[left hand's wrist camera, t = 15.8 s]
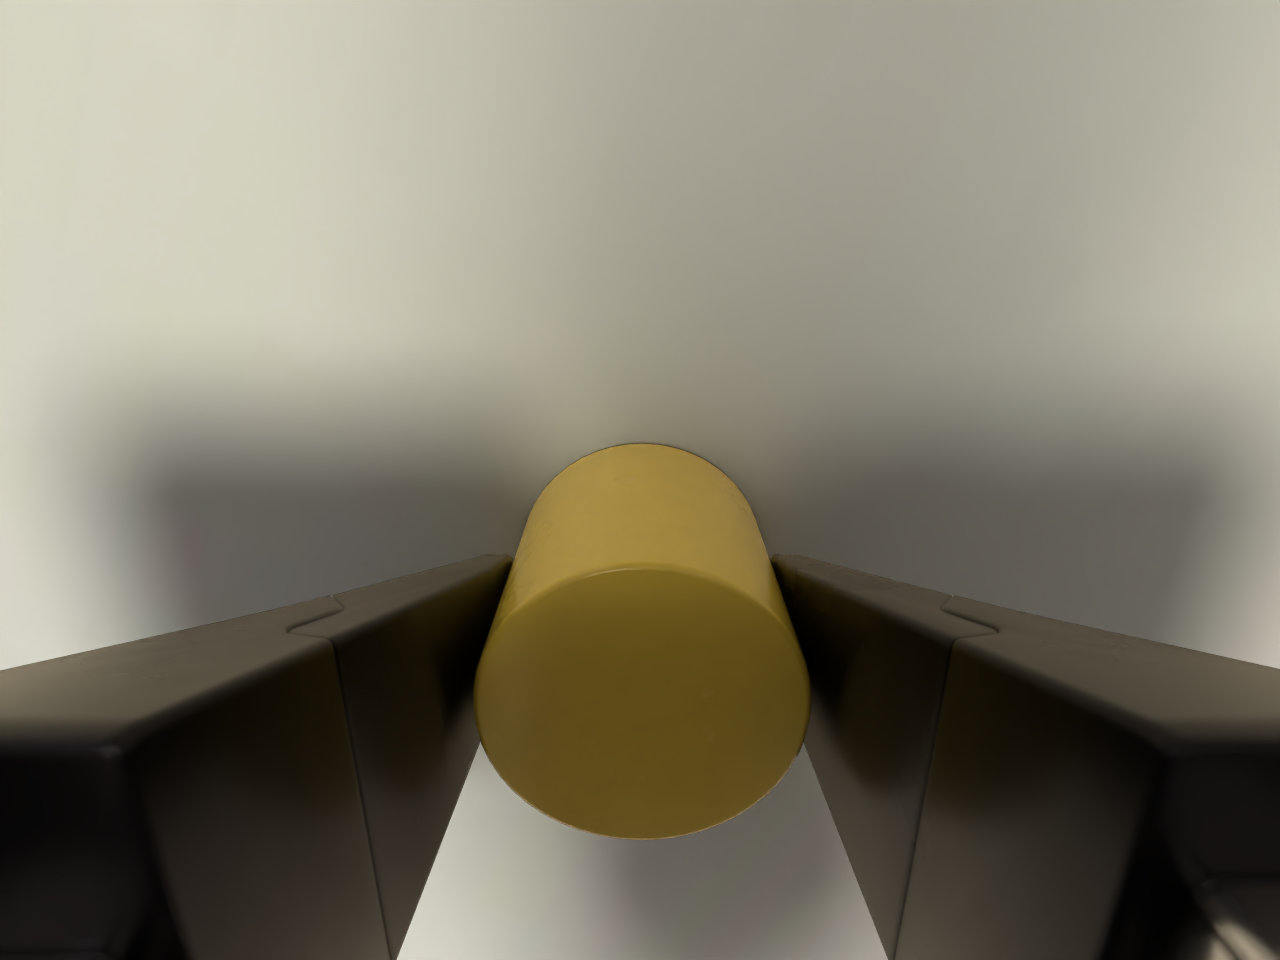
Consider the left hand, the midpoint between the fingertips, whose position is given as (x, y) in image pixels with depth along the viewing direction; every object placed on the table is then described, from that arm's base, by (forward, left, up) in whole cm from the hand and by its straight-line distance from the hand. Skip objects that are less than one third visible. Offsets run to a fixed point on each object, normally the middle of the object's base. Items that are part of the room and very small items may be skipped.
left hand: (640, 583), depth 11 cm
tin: (0, 0, -1) cm, 1 cm away
